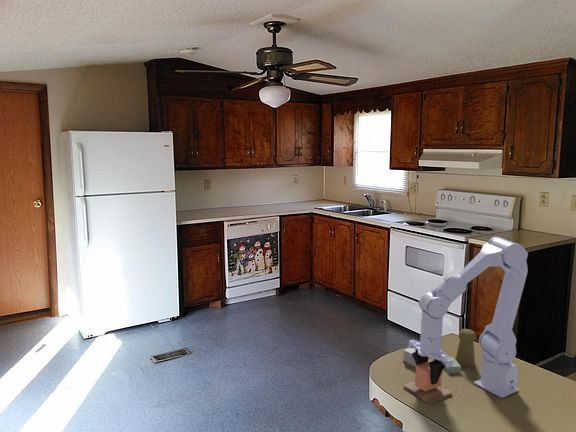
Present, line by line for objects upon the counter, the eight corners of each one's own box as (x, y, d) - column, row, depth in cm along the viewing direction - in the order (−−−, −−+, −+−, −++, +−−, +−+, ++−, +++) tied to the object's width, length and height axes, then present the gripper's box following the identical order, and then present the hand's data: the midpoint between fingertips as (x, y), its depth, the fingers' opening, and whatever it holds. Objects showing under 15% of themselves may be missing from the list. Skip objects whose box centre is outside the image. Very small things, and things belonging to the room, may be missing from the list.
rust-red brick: (441, 385, 136) (442, 366, 135) (425, 391, 133) (426, 371, 132) (430, 379, 139) (431, 360, 138) (414, 385, 136) (416, 365, 135)
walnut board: (452, 395, 134) (452, 392, 134) (429, 404, 130) (430, 401, 130) (425, 379, 143) (425, 377, 143) (403, 387, 138) (403, 385, 138)
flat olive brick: (460, 373, 147) (461, 366, 147) (448, 374, 147) (448, 366, 146) (452, 363, 153) (453, 356, 153) (440, 364, 153) (440, 357, 153)
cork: (471, 368, 150) (474, 336, 148) (452, 363, 153) (454, 331, 151) (477, 361, 154) (479, 329, 152) (458, 356, 158) (460, 325, 156)
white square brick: (425, 363, 153) (426, 352, 152) (415, 367, 150) (415, 356, 150) (414, 357, 157) (414, 346, 156) (403, 361, 154) (404, 349, 154)
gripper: (402, 329, 137) (399, 372, 140) (441, 348, 125) (438, 395, 128) (419, 324, 141) (416, 366, 143) (459, 342, 129) (456, 388, 131)
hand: (428, 379), depth 136 cm, fingers closed on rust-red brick, 4 cm apart
